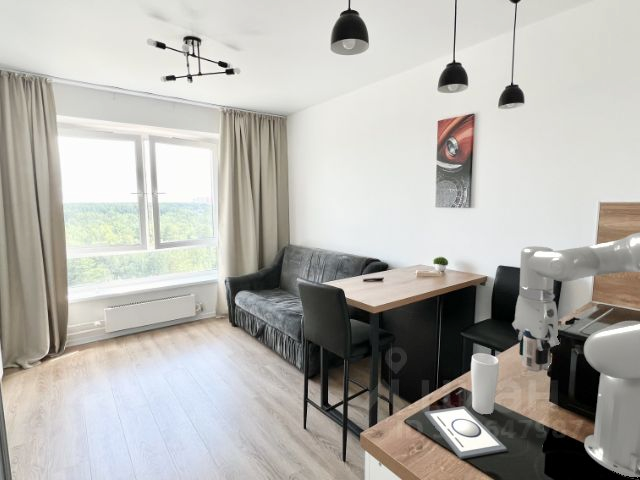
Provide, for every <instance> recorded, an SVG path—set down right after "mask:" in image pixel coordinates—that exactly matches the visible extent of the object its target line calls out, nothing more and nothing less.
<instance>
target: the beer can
mask: <svg viewBox="0 0 640 480" xmlns="http://www.w3.org/2000/svg"><path fill="white" fill-rule="evenodd" d="M542 343H543V344H544V340H542ZM536 349H538V345H537V339H536V338H535V337H533V336H532V335H531V333H530V331H529V330H528V329H525V331H524V337H523V355H522V365H521V366H522V367H524V368H525V369H526V370H528V371H531V372H534V373H535V372H542V371H543V370H544V369H543V364H540V365H538V364H536V362H535V361H536Z"/></svg>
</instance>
